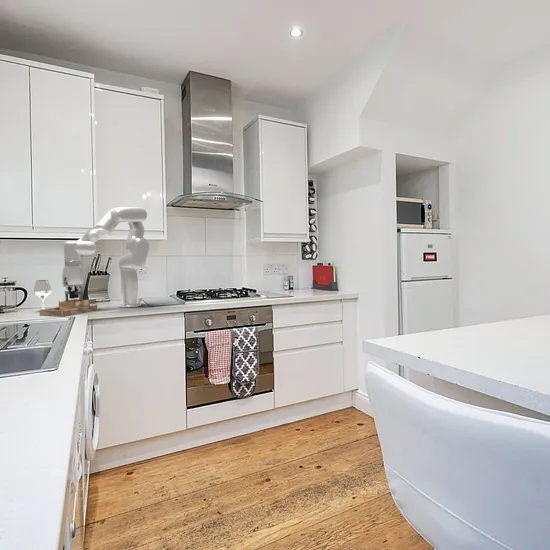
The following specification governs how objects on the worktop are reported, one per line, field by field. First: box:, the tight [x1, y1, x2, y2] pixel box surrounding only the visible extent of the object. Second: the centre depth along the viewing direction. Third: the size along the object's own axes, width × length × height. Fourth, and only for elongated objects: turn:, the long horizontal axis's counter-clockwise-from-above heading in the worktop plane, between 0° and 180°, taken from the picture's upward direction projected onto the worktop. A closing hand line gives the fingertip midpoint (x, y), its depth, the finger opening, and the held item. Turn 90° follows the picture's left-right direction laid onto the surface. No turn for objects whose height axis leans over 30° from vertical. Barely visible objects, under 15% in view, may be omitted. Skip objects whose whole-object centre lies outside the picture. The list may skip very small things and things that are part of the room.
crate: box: [58, 290, 91, 311], centre depth 203 cm, size 10×11×11 cm
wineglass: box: [33, 279, 52, 309], centre depth 207 cm, size 8×8×18 cm
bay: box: [39, 304, 98, 318], centre depth 200 cm, size 22×16×4 cm
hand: (74, 297), depth 202 cm, fingers closed on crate, 2 cm apart
